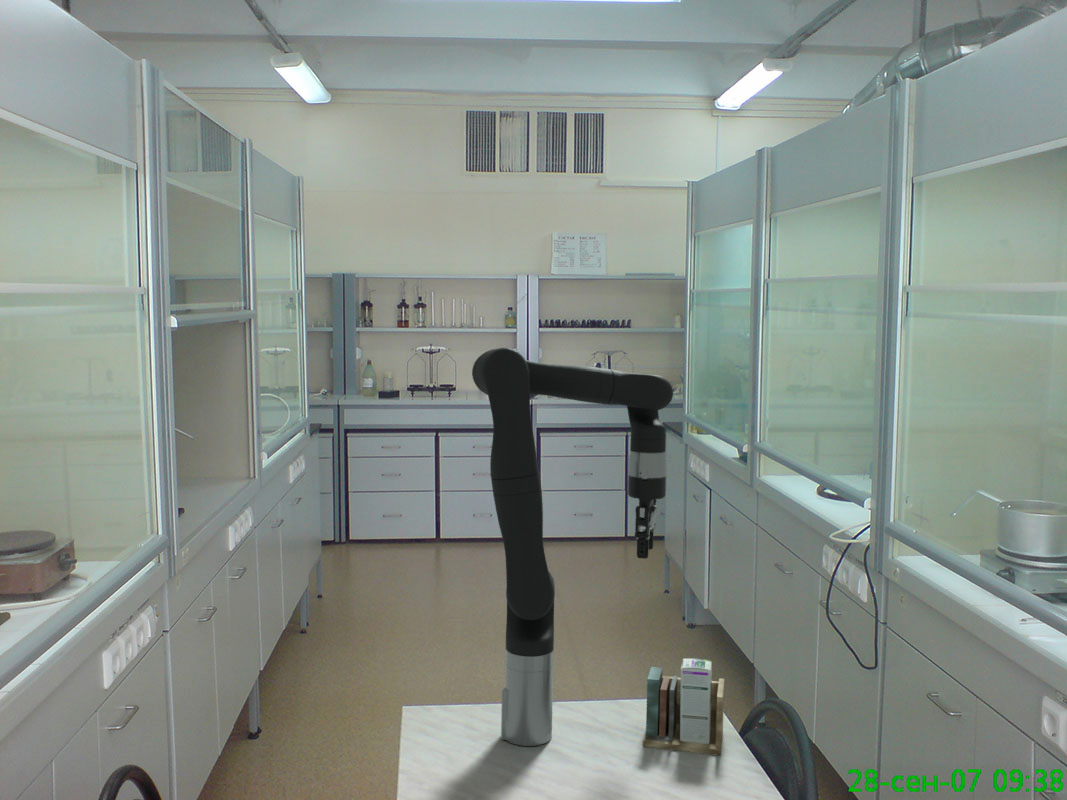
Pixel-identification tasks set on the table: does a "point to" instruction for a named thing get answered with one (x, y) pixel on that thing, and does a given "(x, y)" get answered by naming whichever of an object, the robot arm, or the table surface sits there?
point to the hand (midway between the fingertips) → (645, 553)
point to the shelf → (678, 715)
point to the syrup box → (695, 701)
